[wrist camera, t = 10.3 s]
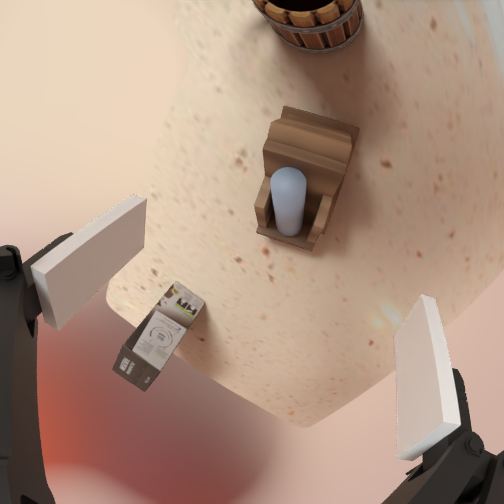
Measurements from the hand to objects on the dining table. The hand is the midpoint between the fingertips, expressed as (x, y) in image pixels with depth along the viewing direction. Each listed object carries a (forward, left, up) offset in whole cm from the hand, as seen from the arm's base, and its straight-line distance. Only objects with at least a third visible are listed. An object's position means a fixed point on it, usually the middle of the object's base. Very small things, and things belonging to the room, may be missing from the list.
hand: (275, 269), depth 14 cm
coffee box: (+32, -15, -27) cm, 45 cm away
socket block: (+3, -1, -27) cm, 27 cm away
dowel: (+9, -1, -25) cm, 26 cm away
